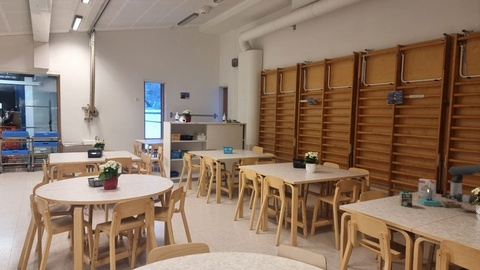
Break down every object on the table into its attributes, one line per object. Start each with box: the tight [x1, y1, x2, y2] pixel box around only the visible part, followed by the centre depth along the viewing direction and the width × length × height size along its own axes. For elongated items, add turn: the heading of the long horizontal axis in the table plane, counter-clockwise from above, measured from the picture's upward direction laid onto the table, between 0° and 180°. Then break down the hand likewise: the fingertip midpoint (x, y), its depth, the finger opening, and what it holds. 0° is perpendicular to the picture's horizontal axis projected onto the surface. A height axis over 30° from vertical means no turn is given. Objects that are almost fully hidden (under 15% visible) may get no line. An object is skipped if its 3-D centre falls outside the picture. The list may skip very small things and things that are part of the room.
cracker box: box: [417, 178, 437, 200], centre depth 316 cm, size 14×6×21 cm, turn 43°
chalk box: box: [399, 188, 413, 208], centre depth 294 cm, size 9×9×15 cm
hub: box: [418, 198, 442, 207], centre depth 300 cm, size 14×14×4 cm
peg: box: [427, 189, 433, 201], centre depth 300 cm, size 4×4×14 cm
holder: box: [440, 200, 462, 209], centre depth 296 cm, size 12×12×3 cm
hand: (443, 195), depth 292 cm, fingers open, 8 cm apart
